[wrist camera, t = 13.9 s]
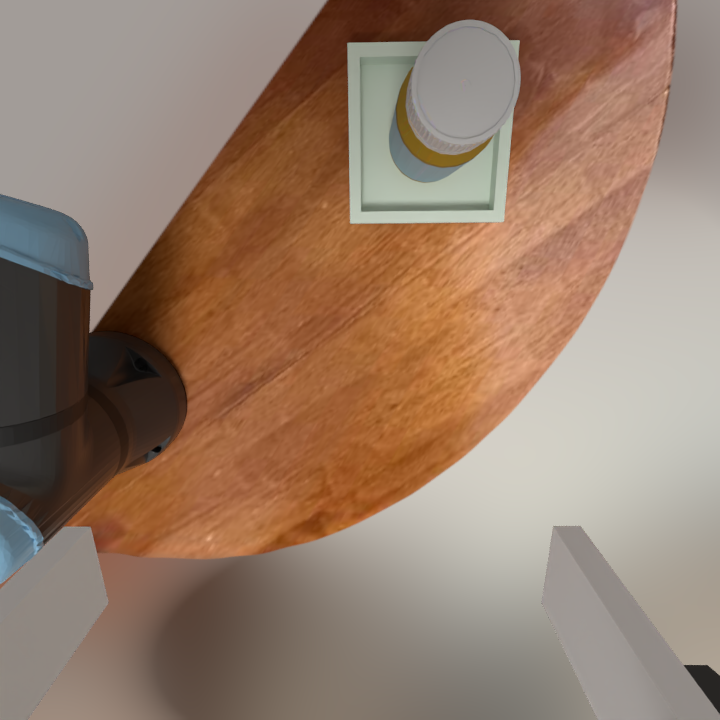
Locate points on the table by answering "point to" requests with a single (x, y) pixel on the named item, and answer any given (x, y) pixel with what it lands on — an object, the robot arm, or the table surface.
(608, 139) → the table surface
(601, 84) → the table surface
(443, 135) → the bottle
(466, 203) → the pale green square tray
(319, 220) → the table surface
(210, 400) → the table surface
